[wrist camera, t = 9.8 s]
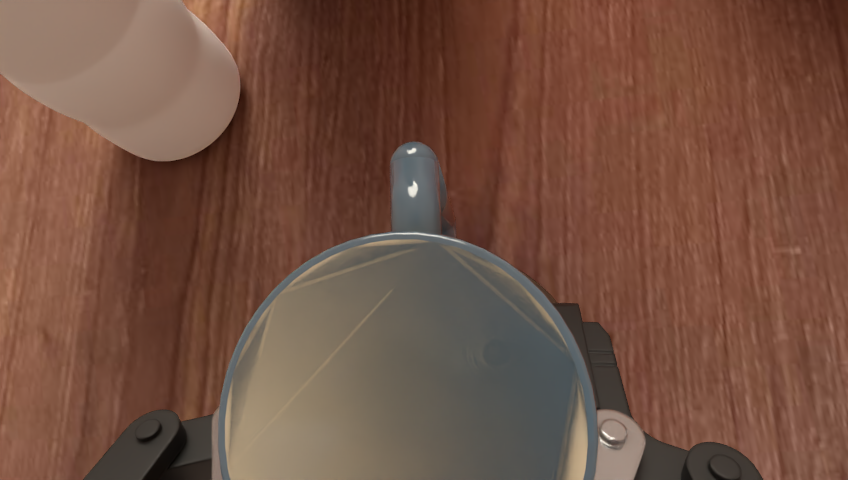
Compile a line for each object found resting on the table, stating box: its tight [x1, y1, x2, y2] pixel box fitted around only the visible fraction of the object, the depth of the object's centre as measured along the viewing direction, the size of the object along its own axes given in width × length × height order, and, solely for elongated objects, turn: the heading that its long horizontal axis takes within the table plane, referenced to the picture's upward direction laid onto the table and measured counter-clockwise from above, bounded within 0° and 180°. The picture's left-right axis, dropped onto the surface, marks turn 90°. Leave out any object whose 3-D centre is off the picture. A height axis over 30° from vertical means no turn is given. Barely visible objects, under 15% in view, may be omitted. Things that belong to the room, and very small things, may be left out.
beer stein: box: [218, 141, 599, 480], centre depth 14 cm, size 6×9×11 cm
